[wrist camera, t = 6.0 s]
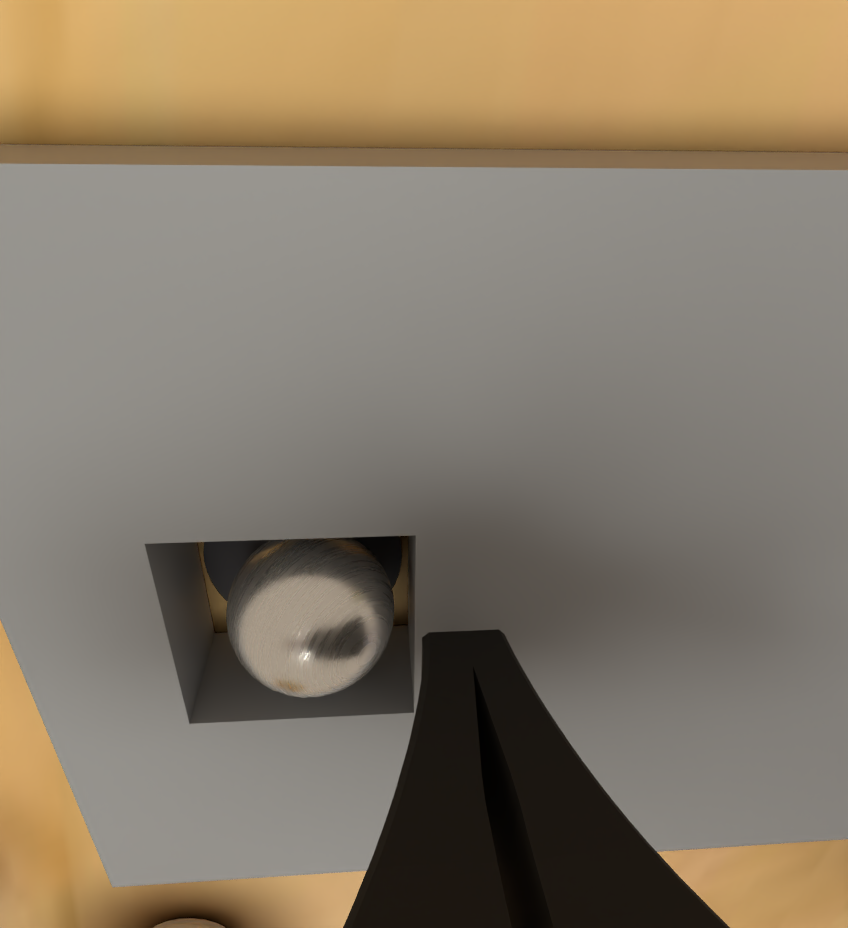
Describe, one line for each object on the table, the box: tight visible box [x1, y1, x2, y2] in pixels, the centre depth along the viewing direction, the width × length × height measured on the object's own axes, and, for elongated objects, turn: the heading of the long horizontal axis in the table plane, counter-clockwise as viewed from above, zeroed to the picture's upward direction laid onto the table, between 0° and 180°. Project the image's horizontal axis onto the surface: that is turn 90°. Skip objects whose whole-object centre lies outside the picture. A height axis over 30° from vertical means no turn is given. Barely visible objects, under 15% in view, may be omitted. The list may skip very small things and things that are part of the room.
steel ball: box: [226, 537, 394, 698], centre depth 13 cm, size 3×3×3 cm
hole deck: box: [0, 144, 848, 887], centre depth 14 cm, size 20×16×2 cm
